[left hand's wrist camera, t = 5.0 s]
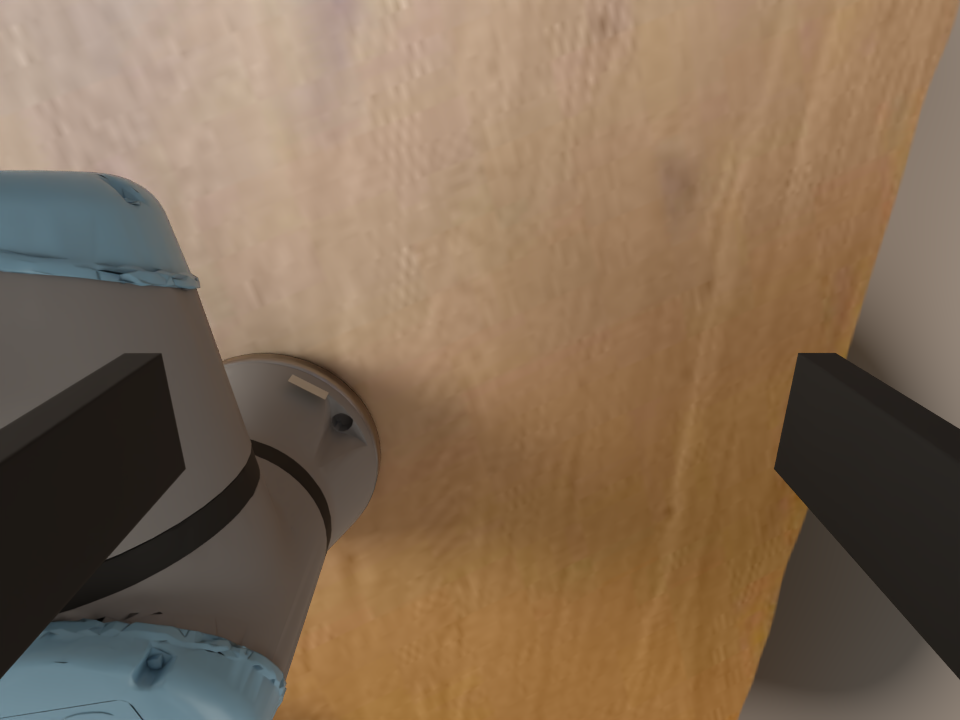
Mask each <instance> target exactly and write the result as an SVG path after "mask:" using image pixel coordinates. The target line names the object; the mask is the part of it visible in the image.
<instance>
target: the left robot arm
mask: <svg viewBox="0 0 960 720" xmlns="http://www.w3.org/2000/svg"><path fill="white" fill-rule="evenodd" d="M196 288H200V283H199V280H198V278H197V277H196V276H194V275H193V274H191V273H190V270H189V268H188V265H187V263H186V261H185V258H184V256H183V253H182V251H181V249H180V246H179V244H178V241H177V239H176V237H175V234H174V232H173V230H172V227H171V225H170V222H169V220H168V218H167V215H166V213H165V211H164V209H163V208H162V206H161V204H160V203H159V202H158V200H157V199H156V198H155V197H154V196H153V195H152V194H151V193H150V192H149V191H148V190H146V189H145V188H143V187H142V186H140V185H139V184H137V183H135V182H133V181H131V180H128V179H126V178H123V177H119V176H115V175H110V174H104V173H94V172H73V171H0V720H272V719H273V717H274V715H275V713H276V710H277V708H278V707H279V706H280V704H281V702H282V701H283V697H284V694H285V691H286V688H285V686H286V684H287V683H286V681H285V680H286V677H287V674H288V671H289V668H290V665H291V662H292V659H293V656H294V653H295V649H296V646H297V643H298V640H299V637H300V634H301V631H302V628H303V625H304V621H305V618H306V615H307V612H308V609H309V606H310V603H311V600H312V597H313V594H314V590H315V587H316V584H317V581H318V578H319V575H320V572H321V569H322V566H323V562H324V559H325V556H326V553H327V551H328V550H329V548H330V547H331V546H332V545H333V544H334V543H335V542H336V541H337V540H338V539H339V538H340V537H341V536H342V535H343V534H344V533H345V532H346V531H347V530H348V529H349V528H350V527H351V526H352V525H353V523H354V522H355V521H356V520H357V519H358V518H359V516H360V515H361V514H362V512H363V511H364V509H365V508H366V506H367V505H368V503H369V501H370V499H371V497H372V494H373V491H374V488H375V484H376V480H377V476H378V472H379V468H380V457H381V451H380V442H379V437H378V433H377V430H376V427H375V424H374V422H373V419H372V417H371V415H370V413H369V412H368V410H367V408H366V407H365V405H364V404H363V402H362V401H361V399H360V398H359V397H358V396H357V395H356V394H355V393H354V391H353V390H352V389H351V388H349V387H348V386H347V385H346V384H345V383H344V382H343V381H341V380H340V379H339V378H338V377H336V376H335V375H333V374H332V373H330V372H329V371H327V370H325V369H323V368H321V367H319V366H317V365H315V364H313V363H310V362H308V361H305V360H302V359H299V358H295V357H291V356H286V355H280V354H268V353H259V354H248V355H241V356H237V357H233V358H230V359H227V360H224V361H222V359H221V357H220V354H219V351H218V348H217V345H216V342H215V340H214V337H213V334H212V331H211V328H210V326H209V323H208V320H207V317H206V314H205V312H204V309H203V306H202V303H201V300H200V298H199V295H198V292H197V289H196ZM774 469H775V470H776V472H777V473H778V474H779V475H780V476H781V477H782V478H783V480H784V481H785V482H786V483H787V484H788V485H789V486H790V488H791V489H792V490H793V491H794V492H795V493H796V494H797V495H798V497H799V498H800V499H801V500H802V501H803V502H804V503H805V505H806V506H807V507H808V508H809V509H810V510H811V511H812V512H813V514H814V515H815V516H816V517H817V518H818V519H819V520H820V522H821V523H822V524H823V525H824V526H825V527H826V528H827V529H828V531H829V532H830V533H831V534H832V535H833V536H834V537H835V539H836V540H837V541H838V542H839V543H840V544H841V545H842V546H843V548H844V549H845V550H846V551H847V552H848V553H849V554H850V556H851V557H852V558H853V559H854V560H855V561H856V562H857V563H858V565H859V566H860V567H861V568H862V569H863V570H864V571H865V573H866V574H867V575H868V576H869V577H870V578H871V579H872V580H873V582H874V583H875V584H876V585H877V586H878V587H879V588H880V590H881V591H882V592H883V593H884V594H885V595H886V596H887V597H888V599H889V600H890V601H891V602H892V603H893V604H894V605H895V607H896V608H897V609H898V610H899V611H900V612H901V613H902V614H903V616H904V617H905V618H906V619H907V620H908V621H909V622H910V624H911V625H912V626H913V627H914V628H915V629H916V630H917V631H918V633H919V634H920V635H921V636H922V637H923V638H924V639H925V641H926V642H927V643H928V644H929V645H930V646H931V647H932V649H933V650H934V651H935V652H936V653H937V654H938V655H939V656H940V658H941V659H942V660H943V661H944V662H945V663H946V664H947V666H948V667H949V668H950V669H951V670H952V671H953V672H954V673H955V675H956V676H957V677H958V678H959V679H960V429H959V428H957V427H955V426H954V425H952V424H951V423H949V422H947V421H946V420H944V419H942V418H941V417H939V416H937V415H936V414H934V413H933V412H931V411H929V410H928V409H926V408H924V407H923V406H921V405H919V404H918V403H916V402H915V401H913V400H911V399H910V398H908V397H906V396H905V395H903V394H902V393H900V392H898V391H897V390H895V389H893V388H892V387H890V386H888V385H887V384H885V383H884V382H882V381H880V380H879V379H877V378H875V377H874V376H872V375H870V374H869V373H867V372H866V371H864V370H862V369H861V368H859V367H857V366H856V365H854V364H853V363H851V362H849V361H848V360H846V359H844V358H843V357H841V356H839V355H838V354H836V353H798V357H797V362H796V367H795V371H794V376H793V381H792V386H791V391H790V395H789V400H788V405H787V410H786V414H785V419H784V424H783V429H782V433H781V438H780V443H779V448H778V453H777V457H776V462H775V467H774Z"/></svg>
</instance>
